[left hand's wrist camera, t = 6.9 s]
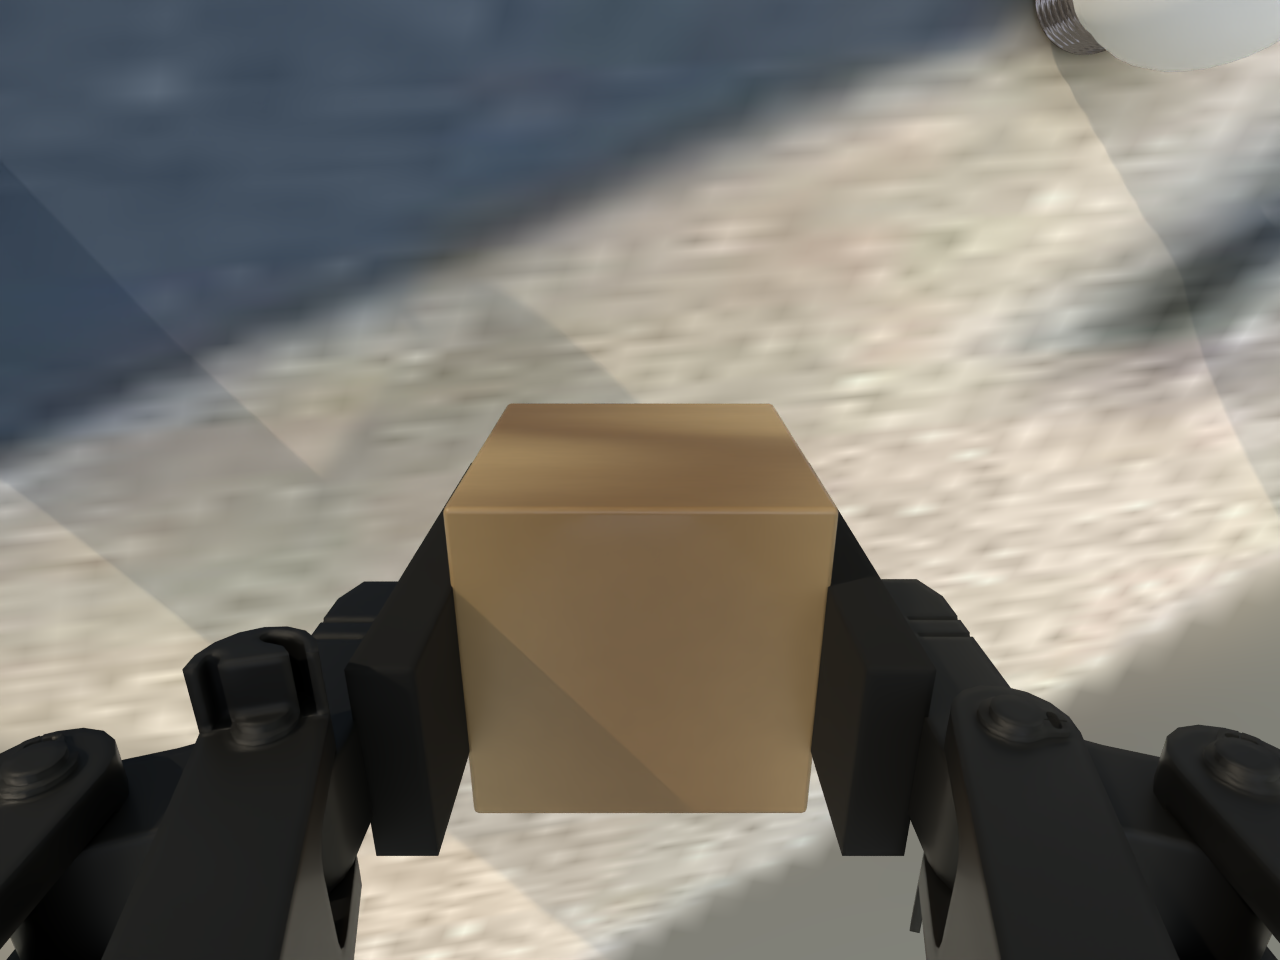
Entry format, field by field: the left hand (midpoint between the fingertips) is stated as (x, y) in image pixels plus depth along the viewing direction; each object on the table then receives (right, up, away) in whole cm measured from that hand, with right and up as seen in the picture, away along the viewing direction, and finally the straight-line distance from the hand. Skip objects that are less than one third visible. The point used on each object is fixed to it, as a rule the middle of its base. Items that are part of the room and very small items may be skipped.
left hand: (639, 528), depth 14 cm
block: (0, 0, 0) cm, 0 cm away
